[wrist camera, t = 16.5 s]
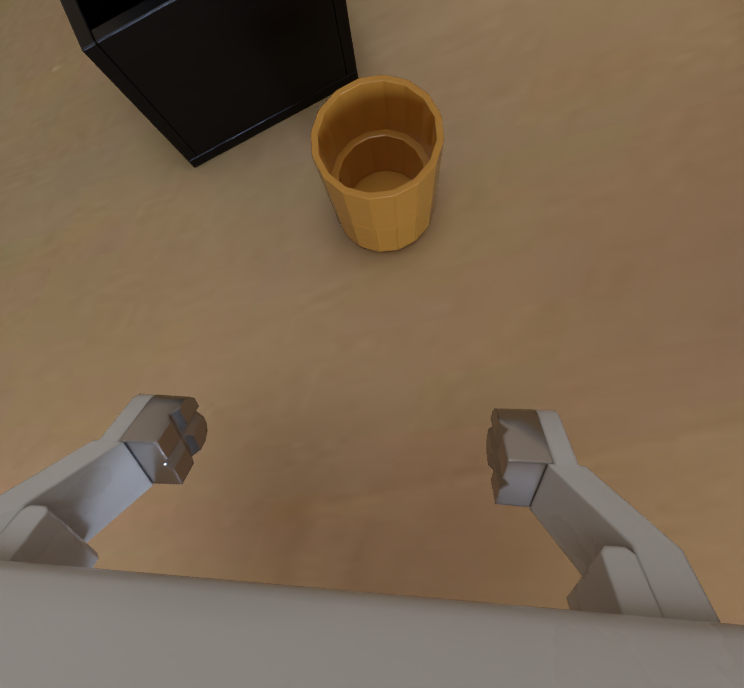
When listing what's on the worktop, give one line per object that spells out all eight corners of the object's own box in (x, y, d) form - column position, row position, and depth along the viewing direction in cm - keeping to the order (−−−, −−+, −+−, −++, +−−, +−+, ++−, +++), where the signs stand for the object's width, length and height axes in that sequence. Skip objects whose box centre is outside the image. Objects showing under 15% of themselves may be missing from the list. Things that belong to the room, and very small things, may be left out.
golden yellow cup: (450, 225, 26) (467, 157, 18) (364, 270, 26) (346, 221, 18) (405, 148, 27) (404, 53, 19) (323, 191, 27) (290, 114, 19)
